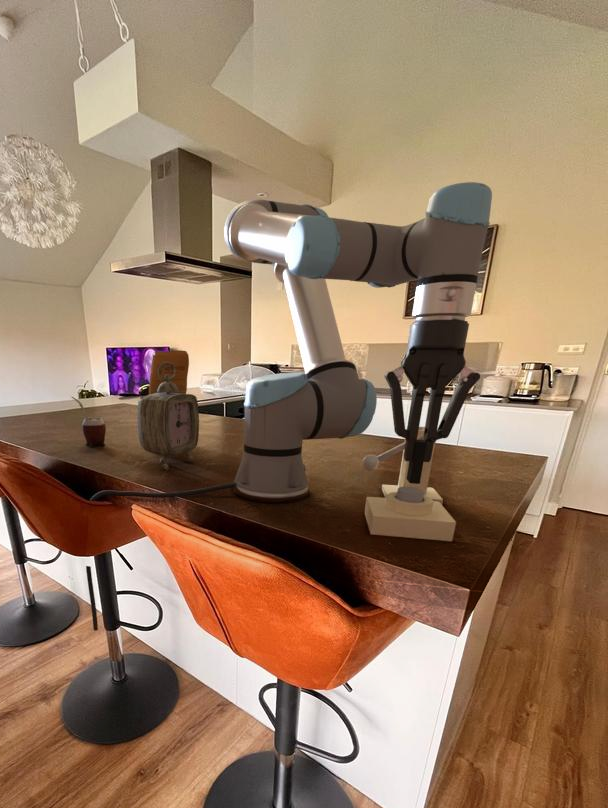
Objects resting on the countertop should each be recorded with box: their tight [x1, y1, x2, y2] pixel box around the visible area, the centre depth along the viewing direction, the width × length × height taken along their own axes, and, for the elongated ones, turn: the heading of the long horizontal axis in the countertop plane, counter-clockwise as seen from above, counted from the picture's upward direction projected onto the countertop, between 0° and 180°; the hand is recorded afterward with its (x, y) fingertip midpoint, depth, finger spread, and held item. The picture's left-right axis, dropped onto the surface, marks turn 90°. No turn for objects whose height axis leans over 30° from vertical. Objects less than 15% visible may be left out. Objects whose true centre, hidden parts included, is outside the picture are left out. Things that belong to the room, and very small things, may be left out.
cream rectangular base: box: [364, 492, 457, 542], centre depth 69 cm, size 12×10×5 cm
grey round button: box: [396, 487, 424, 503], centre depth 68 cm, size 4×4×2 cm
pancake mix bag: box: [148, 349, 190, 395], centre depth 125 cm, size 7×19×28 cm, turn 148°
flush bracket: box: [381, 426, 444, 506], centre depth 83 cm, size 10×8×14 cm
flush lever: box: [362, 428, 425, 471], centre depth 83 cm, size 13×3×3 cm
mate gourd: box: [71, 396, 107, 448], centre depth 129 cm, size 8×8×15 cm
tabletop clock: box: [136, 362, 200, 471], centre depth 104 cm, size 14×9×25 cm, turn 150°
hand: (413, 481), depth 67 cm, fingers closed
